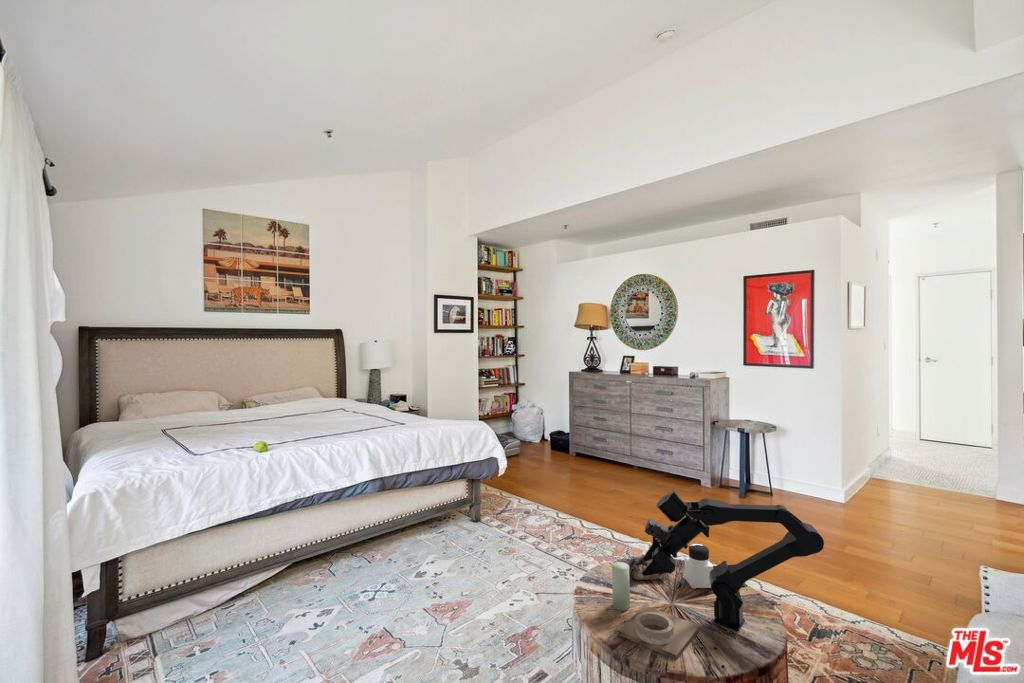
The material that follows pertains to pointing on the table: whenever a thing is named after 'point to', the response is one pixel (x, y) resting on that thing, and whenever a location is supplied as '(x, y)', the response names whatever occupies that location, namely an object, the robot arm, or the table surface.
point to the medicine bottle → (698, 567)
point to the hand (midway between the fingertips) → (643, 567)
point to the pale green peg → (620, 586)
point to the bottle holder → (659, 631)
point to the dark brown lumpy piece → (640, 569)
